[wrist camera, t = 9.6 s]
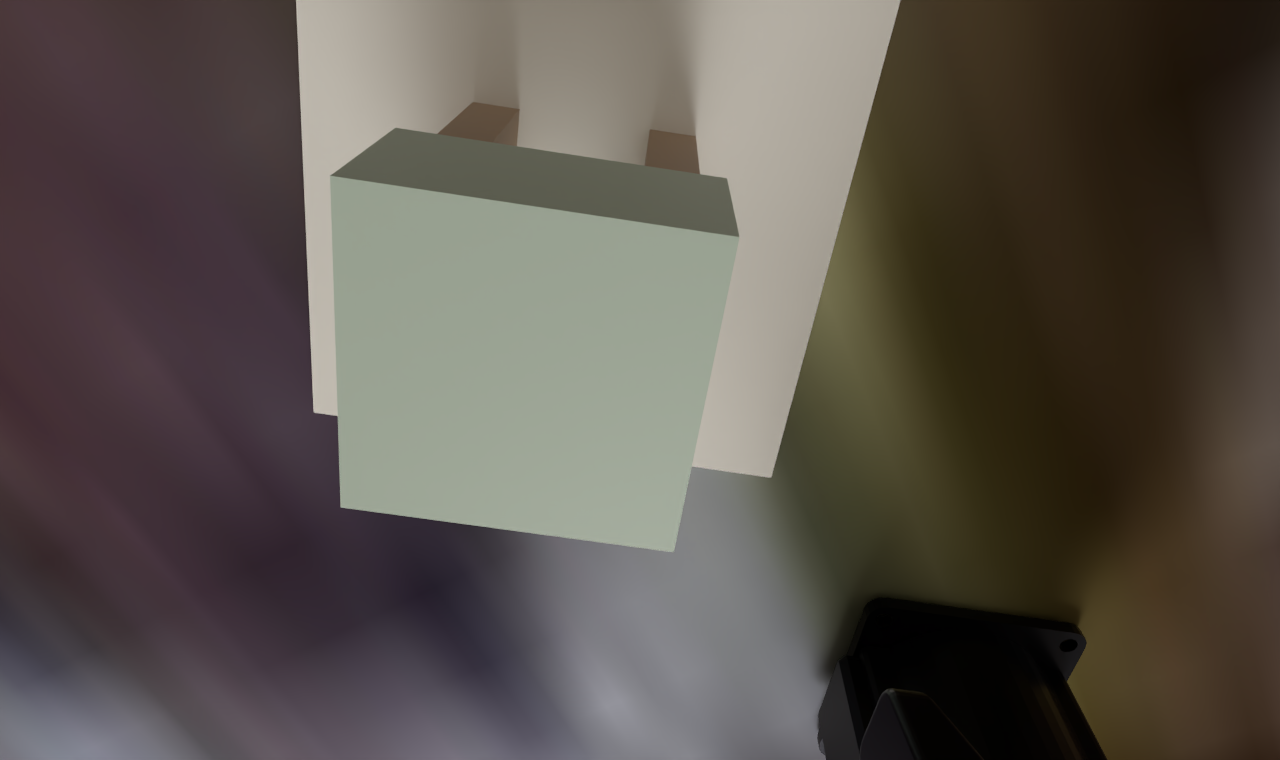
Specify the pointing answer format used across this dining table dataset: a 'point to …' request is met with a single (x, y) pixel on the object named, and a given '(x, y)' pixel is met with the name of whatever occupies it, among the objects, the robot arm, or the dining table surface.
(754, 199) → the mat
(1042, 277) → the dining table surface
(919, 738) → the robot arm
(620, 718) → the dining table surface
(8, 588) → the dining table surface
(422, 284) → the stool
